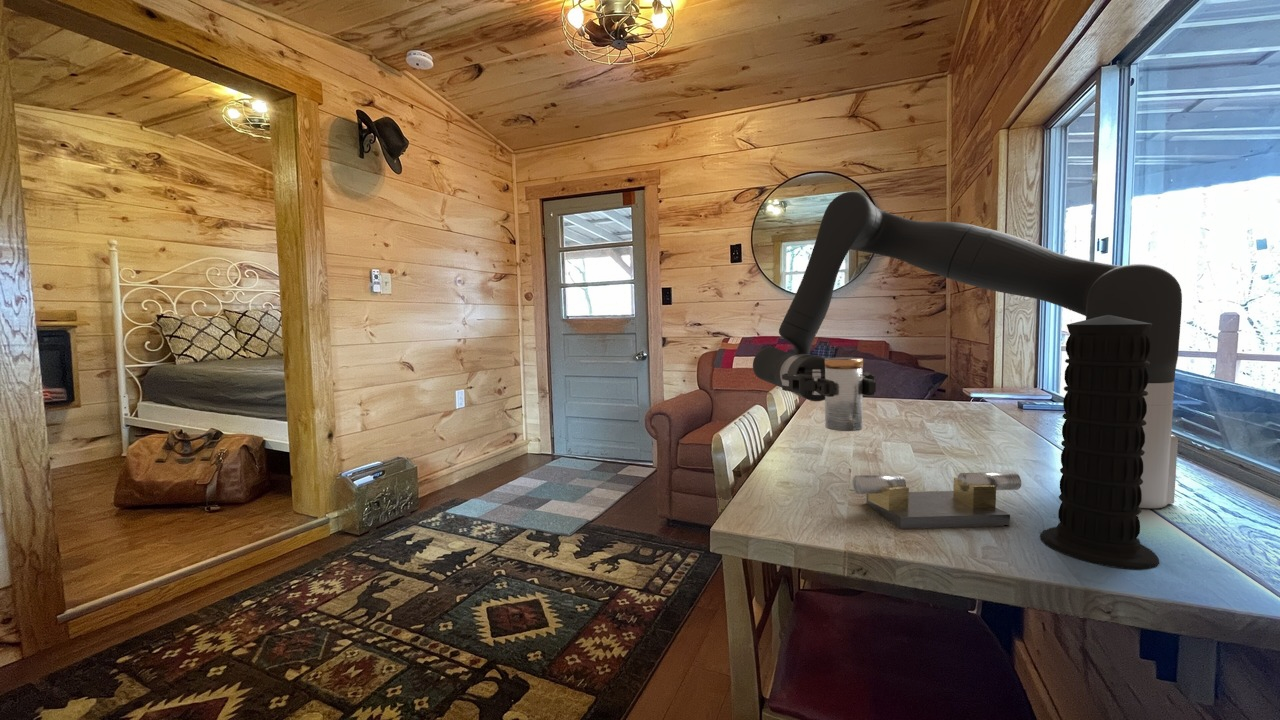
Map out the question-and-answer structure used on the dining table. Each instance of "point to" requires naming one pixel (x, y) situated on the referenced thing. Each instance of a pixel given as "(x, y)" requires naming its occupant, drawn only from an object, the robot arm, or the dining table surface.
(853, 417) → the grey cylinder
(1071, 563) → the dining table surface
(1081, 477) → the handle grip
